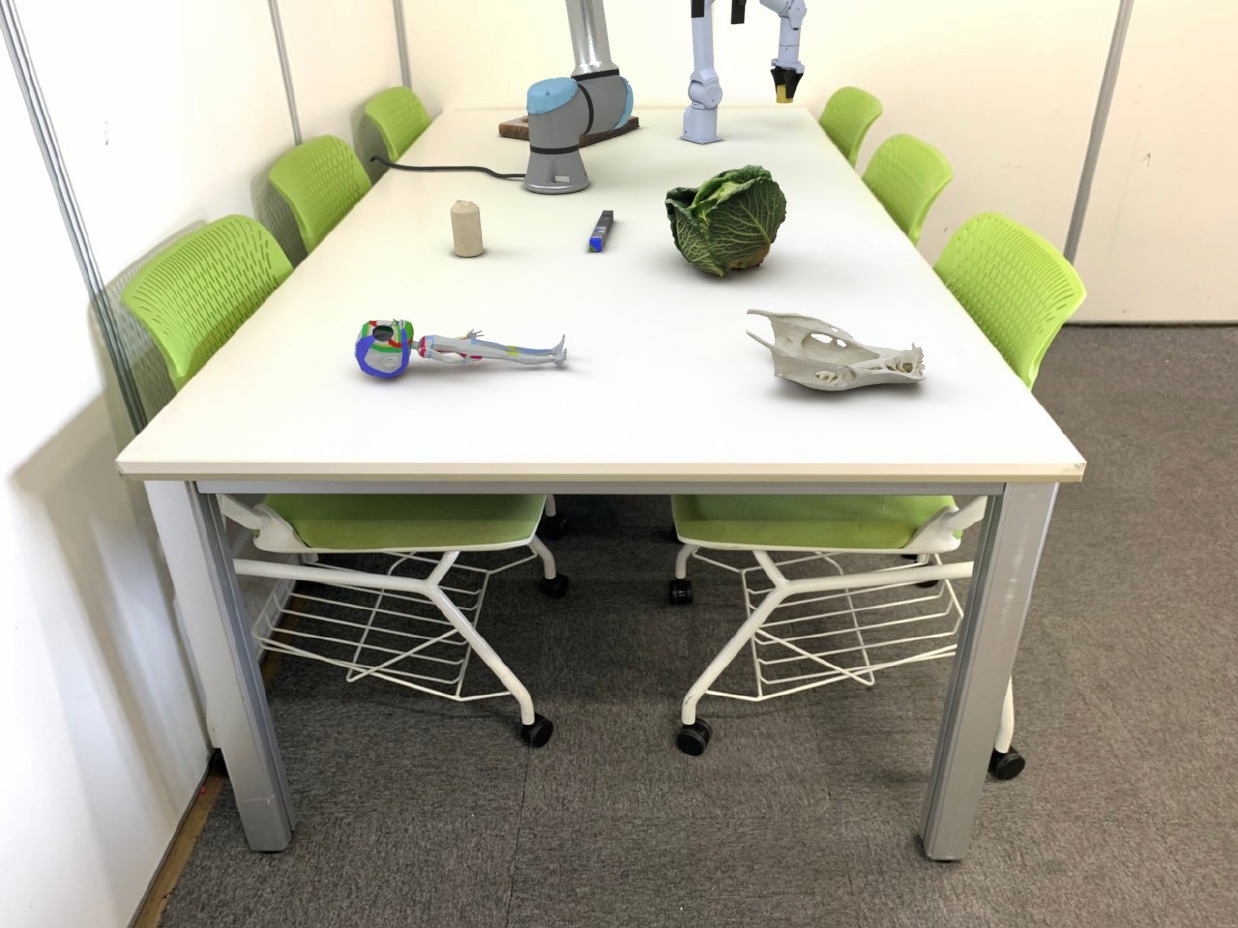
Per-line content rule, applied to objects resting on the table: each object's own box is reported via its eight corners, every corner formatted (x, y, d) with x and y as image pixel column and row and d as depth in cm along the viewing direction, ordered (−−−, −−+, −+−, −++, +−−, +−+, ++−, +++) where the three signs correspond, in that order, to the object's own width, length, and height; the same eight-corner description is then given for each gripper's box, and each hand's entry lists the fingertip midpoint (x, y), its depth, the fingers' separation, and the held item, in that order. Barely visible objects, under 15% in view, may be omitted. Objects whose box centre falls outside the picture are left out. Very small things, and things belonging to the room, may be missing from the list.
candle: (488, 249, 176) (483, 198, 171) (475, 258, 172) (470, 206, 167) (463, 246, 178) (457, 196, 173) (450, 255, 174) (443, 204, 168)
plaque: (578, 121, 243) (496, 109, 258) (578, 149, 246) (497, 135, 261) (641, 104, 264) (562, 94, 278) (641, 129, 267) (563, 118, 282)
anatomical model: (747, 299, 130) (925, 301, 126) (745, 356, 135) (916, 360, 131) (744, 342, 118) (940, 346, 114) (742, 403, 123) (930, 410, 119)
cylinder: (795, 103, 256) (797, 87, 254) (780, 104, 255) (781, 88, 253) (788, 100, 260) (789, 84, 258) (773, 101, 259) (774, 85, 257)
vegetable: (694, 294, 173) (643, 202, 166) (775, 239, 175) (728, 145, 167) (734, 307, 155) (678, 205, 147) (824, 245, 156) (773, 141, 149)
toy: (569, 347, 126) (349, 329, 122) (563, 400, 131) (350, 385, 126) (565, 318, 135) (359, 301, 130) (559, 369, 139) (360, 354, 134)
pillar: (613, 210, 190) (600, 241, 173) (613, 220, 191) (600, 251, 174) (603, 210, 190) (589, 240, 173) (603, 220, 191) (589, 251, 174)
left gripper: (780, -108, 158) (771, 25, 169) (700, -106, 176) (697, 14, 188) (746, -108, 155) (739, 28, 166) (668, -106, 173) (667, 16, 185)
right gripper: (815, 47, 245) (810, 99, 253) (787, 41, 257) (783, 91, 264) (793, 49, 243) (789, 102, 250) (766, 42, 254) (762, 93, 262)
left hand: (717, 21), depth 177 cm, fingers open, 13 cm apart
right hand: (784, 96), depth 257 cm, fingers closed on cylinder, 5 cm apart
